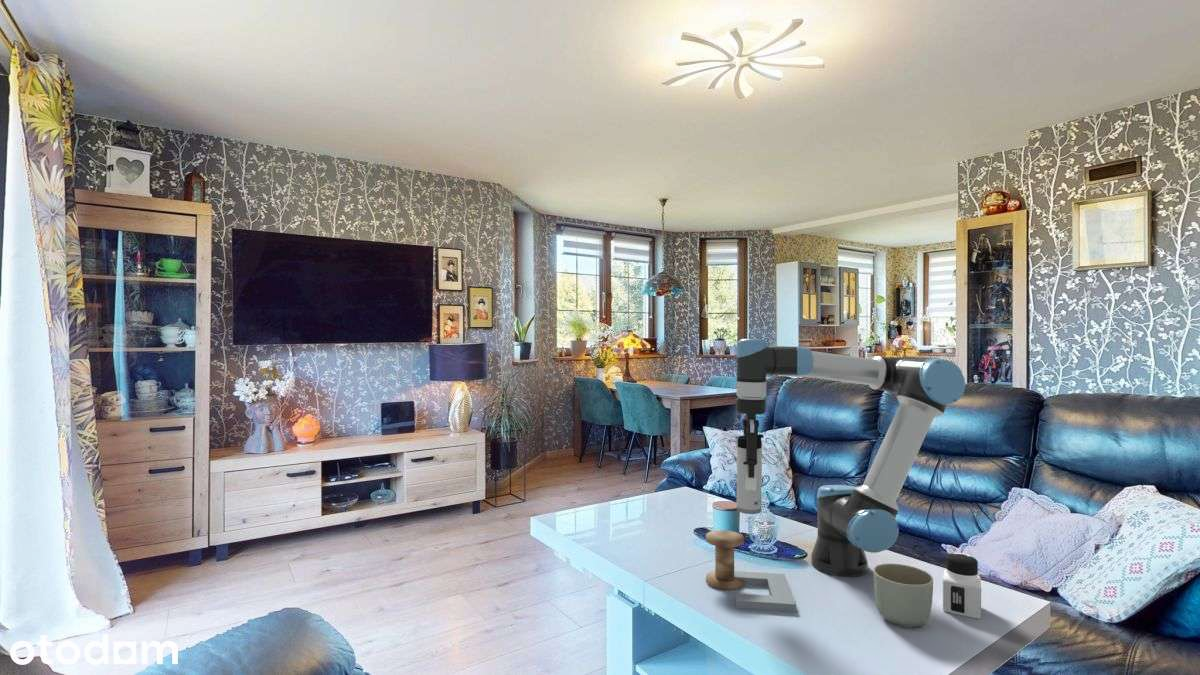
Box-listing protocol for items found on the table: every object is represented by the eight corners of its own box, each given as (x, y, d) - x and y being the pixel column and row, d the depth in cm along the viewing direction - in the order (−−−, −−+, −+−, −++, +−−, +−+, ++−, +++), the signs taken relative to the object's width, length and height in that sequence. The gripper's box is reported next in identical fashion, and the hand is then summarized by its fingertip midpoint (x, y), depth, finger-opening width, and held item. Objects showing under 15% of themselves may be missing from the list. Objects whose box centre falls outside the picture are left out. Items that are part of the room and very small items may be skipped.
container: (981, 620, 136) (981, 564, 136) (942, 611, 140) (942, 557, 140) (980, 606, 143) (980, 553, 143) (943, 599, 147) (943, 547, 147)
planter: (907, 638, 128) (907, 589, 128) (861, 613, 139) (861, 568, 139) (945, 627, 133) (945, 579, 133) (898, 604, 144) (898, 560, 144)
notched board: (784, 581, 158) (784, 573, 158) (795, 612, 140) (795, 604, 140) (731, 578, 160) (731, 570, 160) (736, 608, 142) (736, 600, 142)
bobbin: (742, 575, 162) (742, 531, 162) (745, 591, 152) (745, 543, 152) (705, 573, 163) (705, 529, 163) (706, 588, 153) (706, 541, 153)
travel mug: (763, 515, 148) (763, 436, 148) (736, 513, 150) (737, 435, 150) (762, 508, 154) (763, 432, 154) (736, 506, 156) (737, 431, 156)
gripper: (735, 393, 162) (734, 476, 162) (737, 401, 143) (736, 495, 143) (763, 394, 161) (762, 478, 161) (769, 402, 142) (768, 497, 142)
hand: (750, 486), depth 152 cm, fingers closed on travel mug, 6 cm apart
